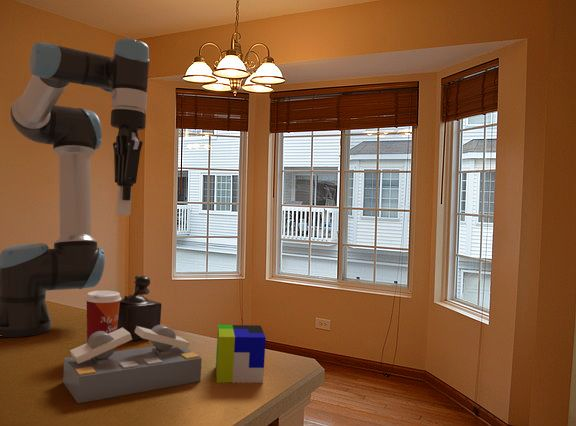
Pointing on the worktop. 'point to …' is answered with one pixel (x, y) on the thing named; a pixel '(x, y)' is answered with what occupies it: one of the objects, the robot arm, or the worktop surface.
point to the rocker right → (161, 337)
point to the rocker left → (100, 345)
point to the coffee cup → (102, 311)
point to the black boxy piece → (138, 309)
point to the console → (130, 372)
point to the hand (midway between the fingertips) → (123, 214)
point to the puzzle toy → (240, 354)
